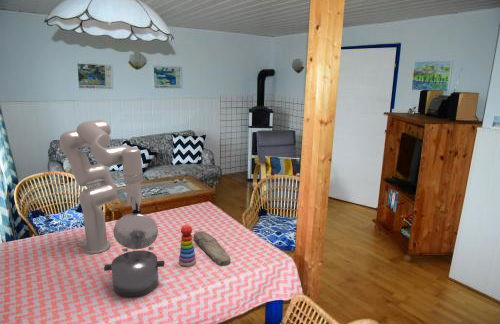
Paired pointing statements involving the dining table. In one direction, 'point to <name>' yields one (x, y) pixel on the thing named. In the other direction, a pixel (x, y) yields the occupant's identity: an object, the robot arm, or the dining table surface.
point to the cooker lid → (135, 231)
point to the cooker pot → (134, 273)
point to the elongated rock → (212, 248)
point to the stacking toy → (187, 247)
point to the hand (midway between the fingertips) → (137, 218)
